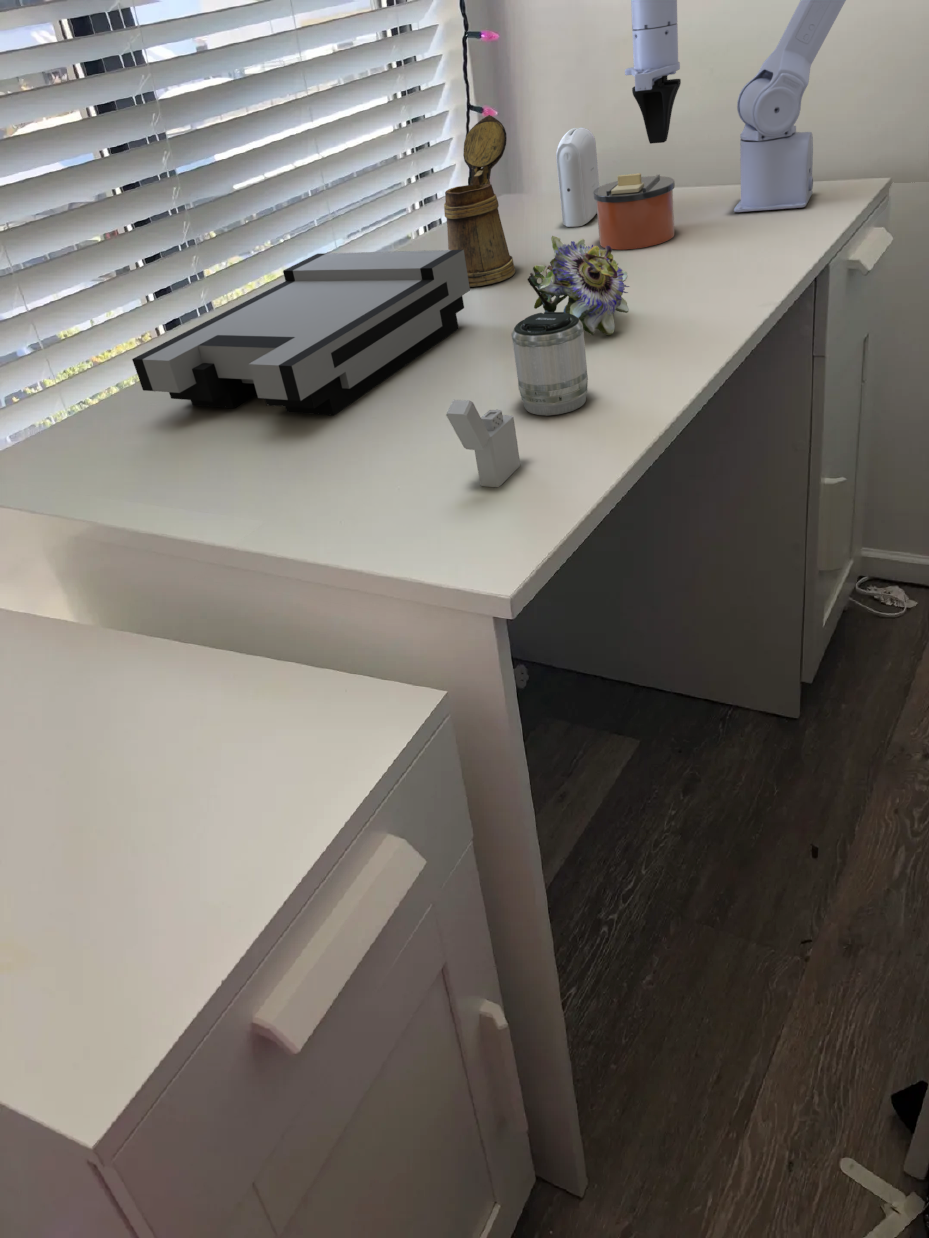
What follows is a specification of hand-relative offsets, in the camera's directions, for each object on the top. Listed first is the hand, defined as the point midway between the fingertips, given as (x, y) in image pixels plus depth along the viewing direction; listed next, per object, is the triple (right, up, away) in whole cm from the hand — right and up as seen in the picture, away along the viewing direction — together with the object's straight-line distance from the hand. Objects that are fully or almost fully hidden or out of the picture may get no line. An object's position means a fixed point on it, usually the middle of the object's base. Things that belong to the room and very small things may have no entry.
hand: (658, 142), depth 136 cm
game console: (-42, -37, -25) cm, 62 cm away
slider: (-5, -9, -6) cm, 12 cm away
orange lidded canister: (-3, -13, 0) cm, 14 cm away
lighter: (-24, -54, -56) cm, 81 cm away
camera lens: (-18, -45, -44) cm, 66 cm away
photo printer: (-8, -4, +15) cm, 18 cm away
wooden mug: (-23, -18, -2) cm, 29 cm away
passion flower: (-14, -34, -28) cm, 46 cm away
